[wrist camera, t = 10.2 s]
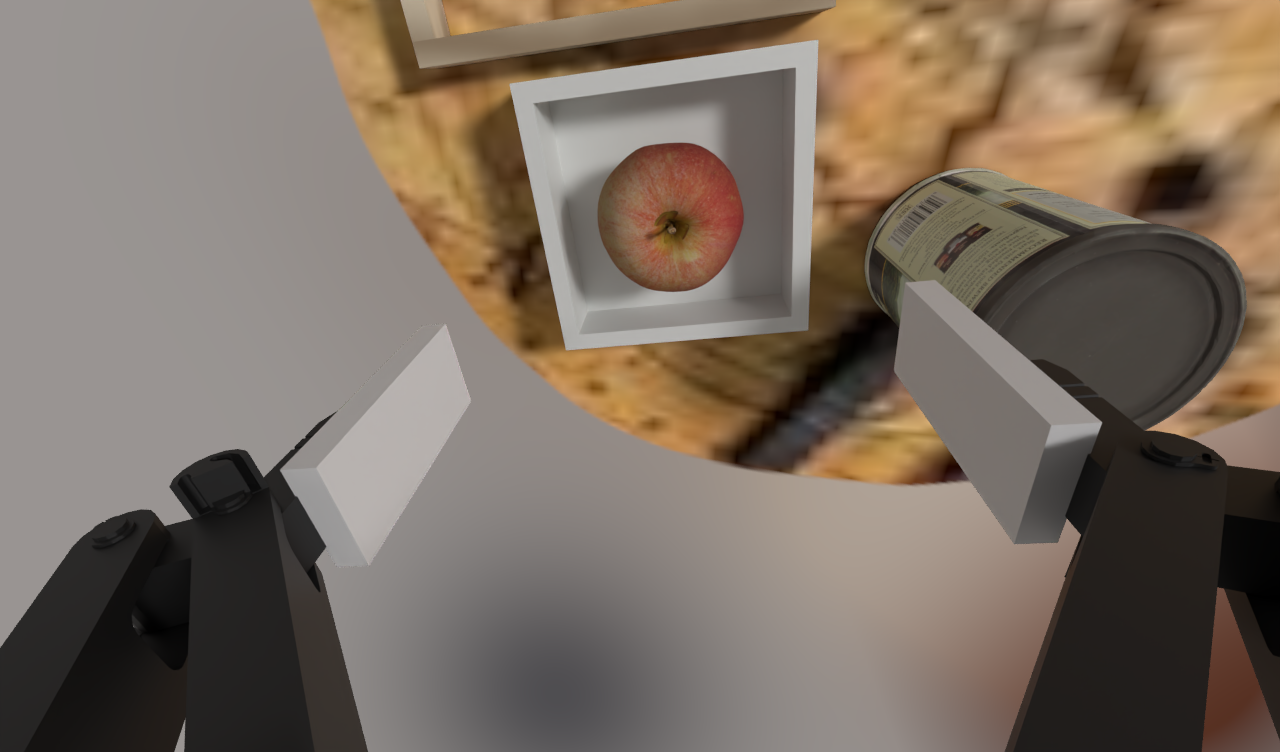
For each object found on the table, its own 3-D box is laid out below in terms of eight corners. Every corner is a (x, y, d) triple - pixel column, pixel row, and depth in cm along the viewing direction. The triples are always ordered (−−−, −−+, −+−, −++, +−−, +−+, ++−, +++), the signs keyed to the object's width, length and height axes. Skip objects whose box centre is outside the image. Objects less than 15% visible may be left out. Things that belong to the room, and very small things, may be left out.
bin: (530, 81, 31) (509, 83, 27) (799, 43, 29) (818, 39, 25) (577, 321, 38) (566, 350, 34) (794, 302, 36) (808, 330, 32)
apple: (635, 107, 30) (622, 119, 23) (760, 166, 31) (783, 195, 25) (587, 237, 34) (563, 280, 27) (700, 285, 35) (705, 338, 28)
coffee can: (986, 338, 37) (1138, 472, 25) (840, 310, 36) (921, 433, 24) (1073, 184, 32) (1320, 257, 19) (903, 149, 31) (1047, 202, 19)
